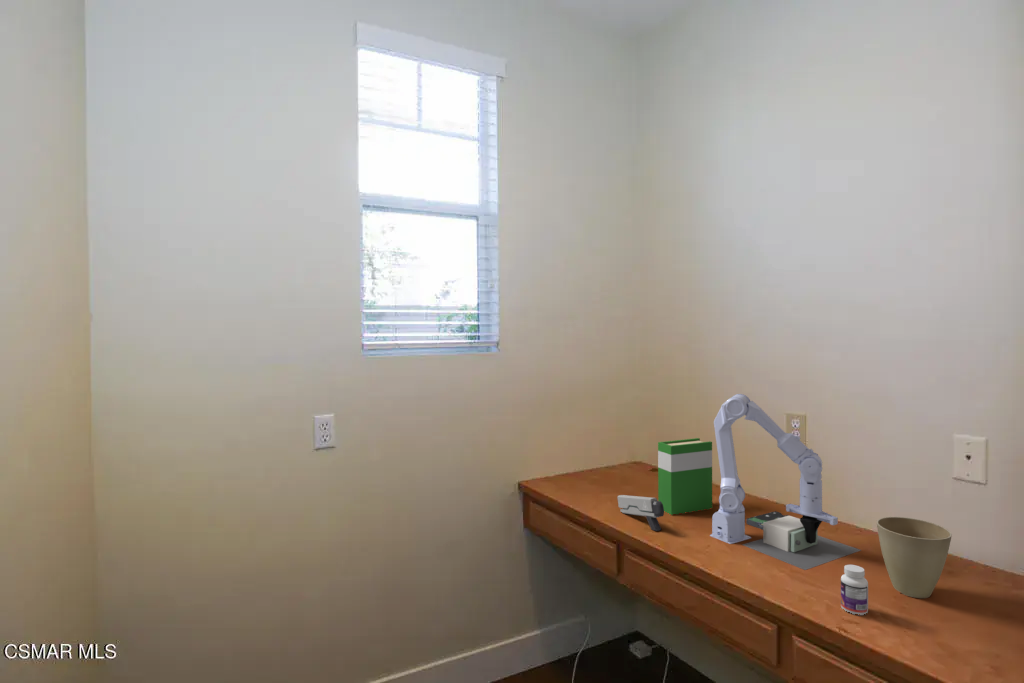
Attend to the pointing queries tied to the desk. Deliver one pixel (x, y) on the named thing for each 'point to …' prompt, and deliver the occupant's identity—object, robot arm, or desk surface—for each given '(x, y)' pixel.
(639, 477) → the desk surface
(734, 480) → the robot arm
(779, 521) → the cabinet
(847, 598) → the pill bottle
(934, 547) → the plant pot
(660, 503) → the gun
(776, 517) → the disk drive
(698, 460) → the hardback book
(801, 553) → the mat
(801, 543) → the cabinet door
